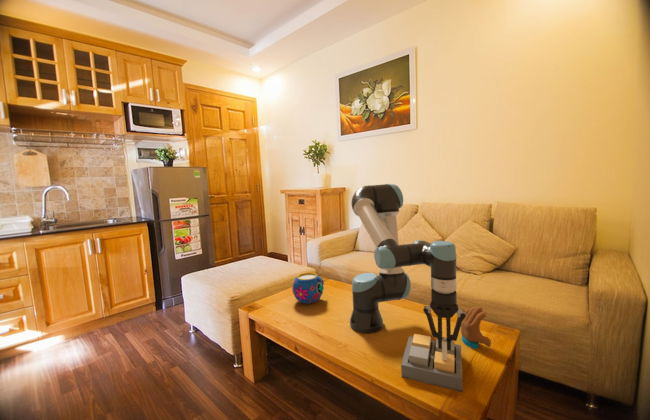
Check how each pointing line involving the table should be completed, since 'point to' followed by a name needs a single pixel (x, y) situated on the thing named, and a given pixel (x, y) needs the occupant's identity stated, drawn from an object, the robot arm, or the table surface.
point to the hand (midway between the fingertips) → (444, 357)
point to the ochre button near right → (444, 362)
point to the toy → (473, 328)
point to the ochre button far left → (422, 341)
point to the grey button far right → (447, 350)
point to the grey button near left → (419, 356)
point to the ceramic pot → (308, 287)
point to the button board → (431, 374)
